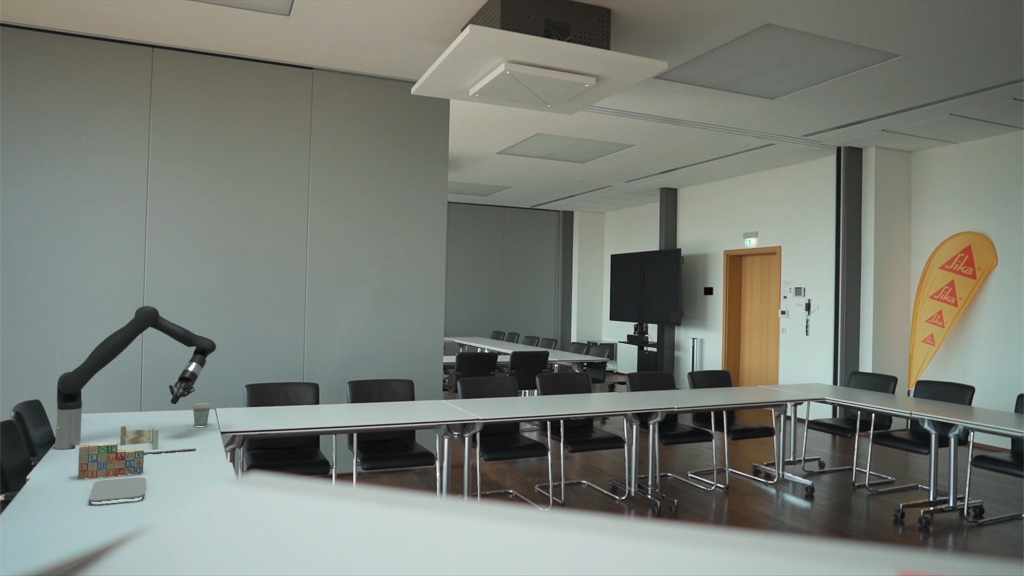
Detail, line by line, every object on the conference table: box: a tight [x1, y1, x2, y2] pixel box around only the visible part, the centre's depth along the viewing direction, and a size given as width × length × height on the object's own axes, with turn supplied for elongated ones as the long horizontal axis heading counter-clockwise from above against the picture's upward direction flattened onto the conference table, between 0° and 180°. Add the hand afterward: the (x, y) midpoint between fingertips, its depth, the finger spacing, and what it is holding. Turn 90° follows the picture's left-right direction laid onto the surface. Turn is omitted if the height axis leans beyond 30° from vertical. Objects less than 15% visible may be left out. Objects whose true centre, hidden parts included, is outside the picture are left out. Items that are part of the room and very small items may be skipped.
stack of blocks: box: [77, 440, 145, 480], centre depth 259 cm, size 21×6×12 cm, turn 117°
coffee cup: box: [192, 402, 211, 427], centre depth 358 cm, size 9×9×12 cm
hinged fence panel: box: [150, 427, 160, 450], centre depth 304 cm, size 16×2×8 cm, turn 31°
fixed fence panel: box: [119, 425, 152, 446], centre depth 307 cm, size 12×2×8 cm, turn 122°
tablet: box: [88, 477, 147, 503], centre depth 236 cm, size 16×26×2 cm, turn 27°
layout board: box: [144, 448, 197, 456], centre depth 306 cm, size 30×27×1 cm
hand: (173, 403), depth 314 cm, fingers closed
